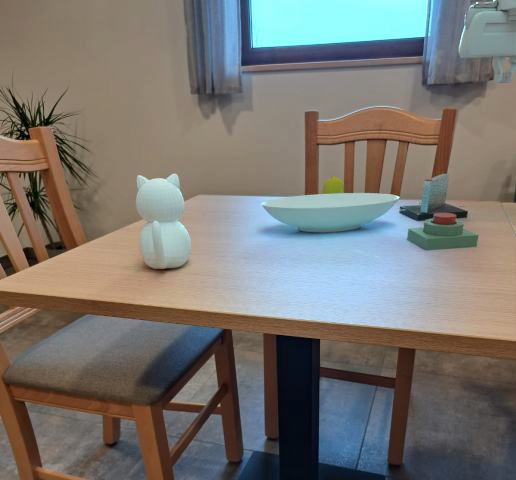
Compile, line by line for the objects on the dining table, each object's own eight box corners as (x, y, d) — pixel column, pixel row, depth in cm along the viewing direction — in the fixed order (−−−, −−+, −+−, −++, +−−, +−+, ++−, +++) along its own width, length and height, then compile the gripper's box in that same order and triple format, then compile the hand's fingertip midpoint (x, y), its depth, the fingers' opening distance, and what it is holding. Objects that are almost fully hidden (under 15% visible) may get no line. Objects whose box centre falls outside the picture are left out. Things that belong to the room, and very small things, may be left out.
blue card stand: (438, 203, 114) (442, 172, 111) (445, 204, 113) (449, 173, 110) (420, 212, 106) (424, 179, 102) (426, 213, 105) (431, 179, 101)
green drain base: (454, 236, 93) (457, 215, 91) (476, 246, 86) (480, 225, 84) (406, 239, 92) (409, 219, 90) (425, 250, 85) (428, 228, 83)
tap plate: (446, 206, 118) (447, 199, 117) (483, 220, 104) (484, 212, 103) (386, 210, 116) (386, 203, 115) (415, 224, 102) (416, 217, 101)
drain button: (448, 221, 89) (449, 212, 88) (459, 226, 85) (460, 216, 85) (428, 222, 88) (429, 213, 88) (438, 227, 85) (440, 217, 84)
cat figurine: (193, 254, 87) (185, 170, 80) (191, 275, 76) (182, 180, 69) (145, 256, 87) (132, 172, 80) (136, 278, 76) (121, 183, 69)
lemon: (322, 206, 124) (323, 174, 120) (343, 206, 123) (345, 174, 119) (320, 210, 119) (322, 177, 115) (342, 210, 118) (344, 177, 114)
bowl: (267, 241, 93) (266, 211, 91) (257, 225, 107) (256, 197, 104) (409, 232, 96) (412, 202, 94) (382, 217, 110) (385, 190, 107)
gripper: (477, -2, 86) (464, 83, 92) (576, -3, 88) (557, 80, 94) (459, 4, 91) (448, 84, 98) (553, 3, 94) (536, 82, 100)
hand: (502, 82), depth 96 cm, fingers closed
